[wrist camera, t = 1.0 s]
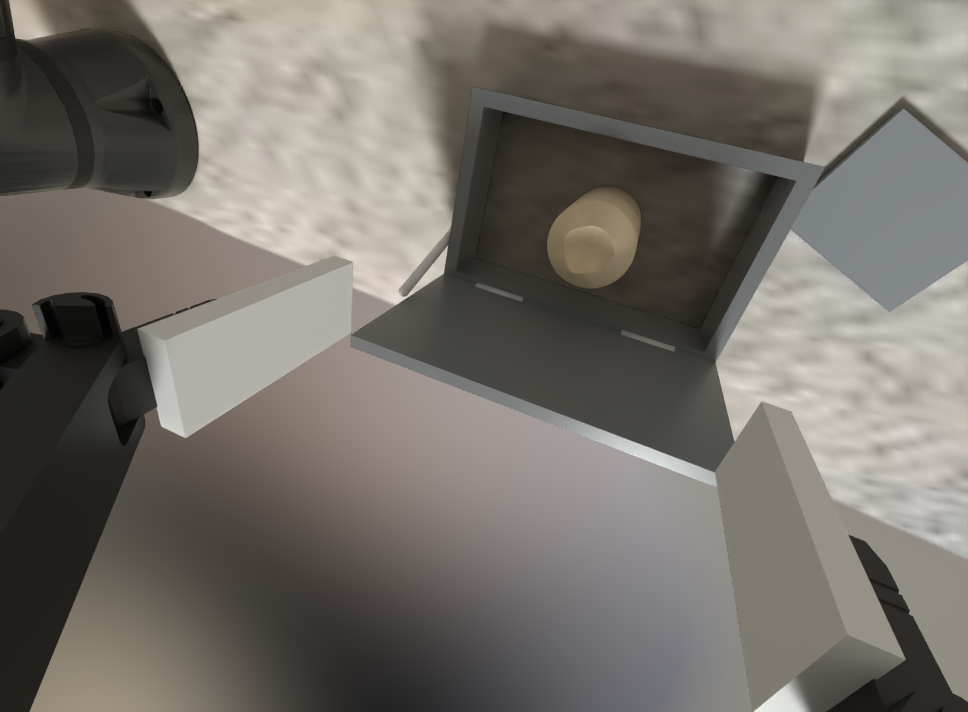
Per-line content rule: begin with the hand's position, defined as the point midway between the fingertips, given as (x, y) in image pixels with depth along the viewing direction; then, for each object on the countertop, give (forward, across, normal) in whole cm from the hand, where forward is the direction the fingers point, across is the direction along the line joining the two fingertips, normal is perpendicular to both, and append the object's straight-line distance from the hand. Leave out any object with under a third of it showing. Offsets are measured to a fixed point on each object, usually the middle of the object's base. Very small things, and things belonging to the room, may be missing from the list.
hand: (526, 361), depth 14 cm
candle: (+25, 0, 0) cm, 25 cm away
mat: (+25, +17, +5) cm, 30 cm away
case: (+25, 0, 0) cm, 25 cm away
